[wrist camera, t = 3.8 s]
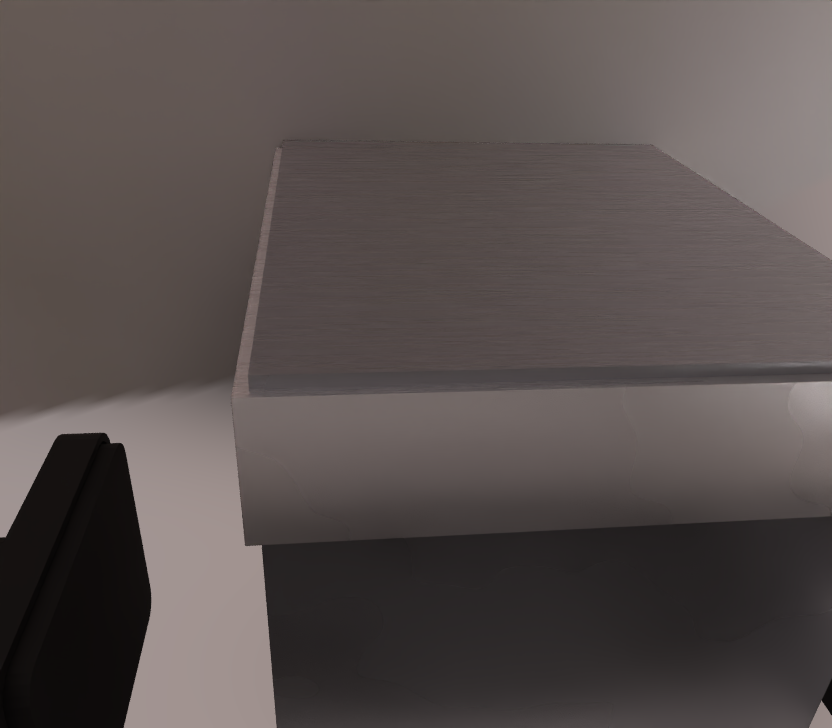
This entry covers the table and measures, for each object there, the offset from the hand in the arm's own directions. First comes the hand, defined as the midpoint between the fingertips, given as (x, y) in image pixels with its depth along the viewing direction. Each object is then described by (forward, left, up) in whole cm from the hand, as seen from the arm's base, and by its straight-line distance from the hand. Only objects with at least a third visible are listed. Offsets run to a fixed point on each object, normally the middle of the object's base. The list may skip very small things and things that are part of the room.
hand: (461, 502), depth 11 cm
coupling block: (0, 0, -2) cm, 2 cm away
